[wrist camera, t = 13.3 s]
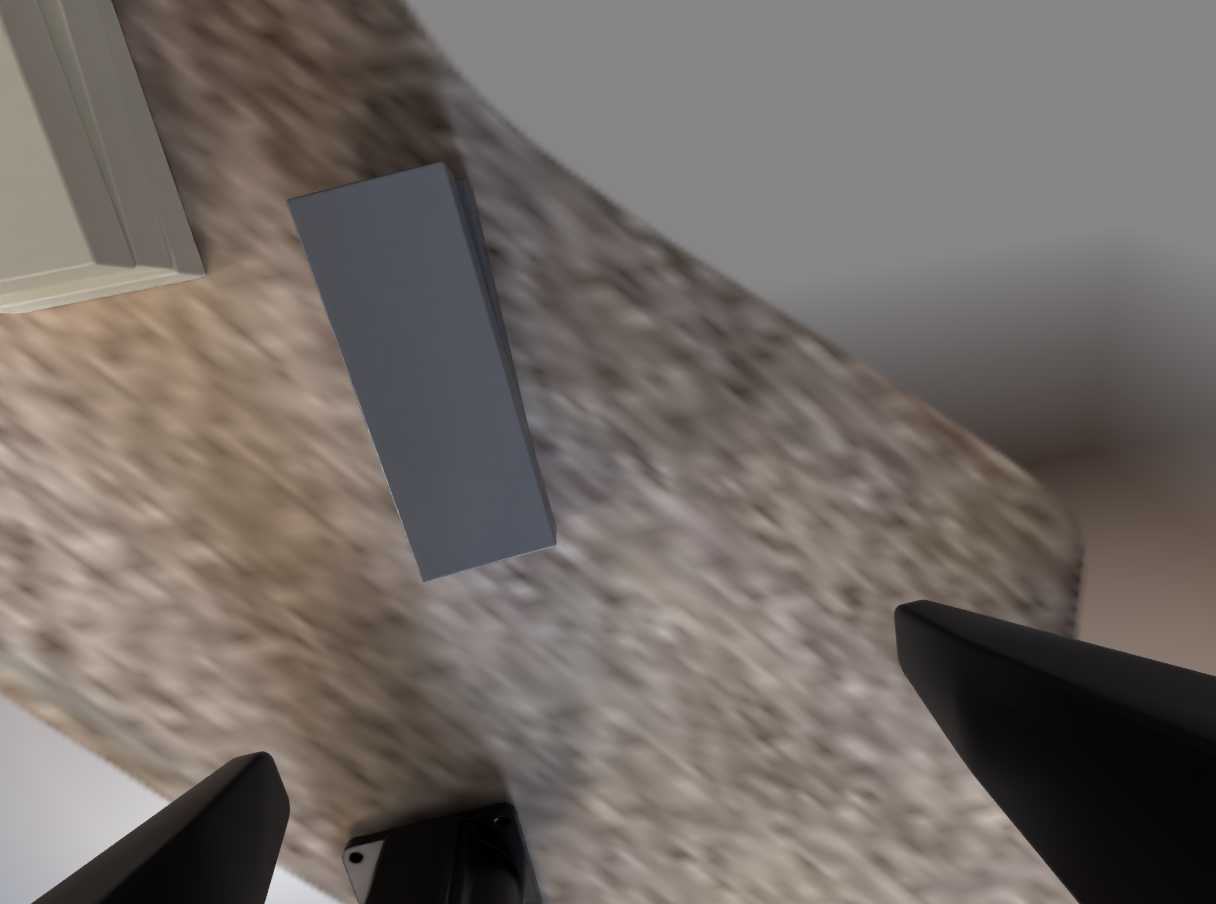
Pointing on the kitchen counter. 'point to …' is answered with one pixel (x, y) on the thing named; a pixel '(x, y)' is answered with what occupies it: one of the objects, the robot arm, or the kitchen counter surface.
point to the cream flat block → (116, 159)
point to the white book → (47, 168)
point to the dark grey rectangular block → (429, 363)
